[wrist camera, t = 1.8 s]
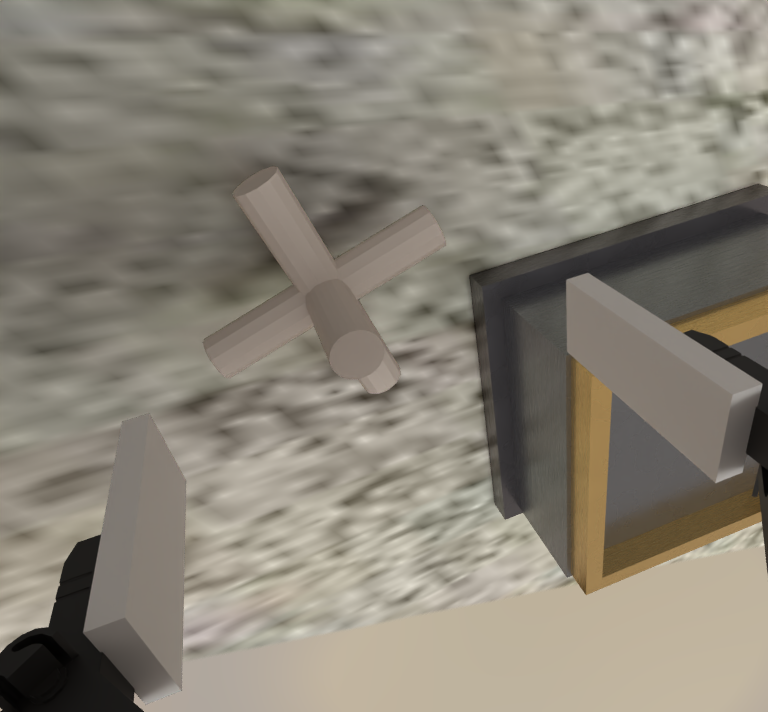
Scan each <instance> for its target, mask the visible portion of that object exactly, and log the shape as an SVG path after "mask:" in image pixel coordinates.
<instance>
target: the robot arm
mask: <svg viewBox="0 0 768 712" xmlns="http://www.w3.org/2000/svg"><path fill="white" fill-rule="evenodd" d="M566 309H567V352H568V353H569V354H570V355H571V356H572V357H574V358H575V359H576V360H577V361H578V362H579V363H580V364H581V365H583V366H584V367H585V368H586V369H587V370H588V371H589V372H591V373H592V374H593V375H594V376H595V377H596V378H597V379H598V380H600V381H601V382H602V383H603V384H604V385H605V386H606V387H607V388H609V389H610V390H611V391H612V392H613V393H614V394H615V395H617V396H618V397H619V398H620V399H621V400H622V401H623V402H624V403H626V404H627V405H628V406H629V407H630V408H631V409H632V410H634V411H635V412H636V413H637V414H638V415H639V416H640V417H641V418H643V419H644V420H645V421H646V422H647V423H648V424H649V425H650V426H652V427H653V428H654V429H655V430H656V431H657V432H658V433H660V434H661V435H662V436H663V437H664V438H665V439H666V440H667V441H669V442H670V443H671V444H672V445H673V446H674V447H675V448H676V449H678V450H679V451H680V452H681V453H682V454H683V455H684V456H686V457H687V458H688V459H689V460H690V461H691V462H692V463H693V464H695V465H696V466H697V467H698V468H699V469H700V470H701V471H703V472H704V473H705V474H706V475H707V476H708V477H709V478H710V479H712V480H713V481H714V482H715V483H717V482H720V481H722V480H725V479H727V478H730V477H733V476H735V475H738V474H740V473H743V468H744V464H745V460H746V455H749V456H750V457H751V458H753V459H754V460H755V461H756V462H758V463H759V468H758V472H757V476H756V480H755V484H754V488H753V493H752V496H753V497H757V496H758V492H759V498H760V507H761V516H762V526H763V535H764V544H765V554H766V563H767V572H768V369H766V368H765V367H763V366H761V365H760V364H758V363H756V362H755V361H753V360H751V359H750V358H748V357H746V356H745V355H744V356H742V355H741V353H740V352H738V351H737V350H735V349H733V348H732V347H731V348H729V347H728V345H727V344H725V343H723V342H722V341H720V340H718V339H717V338H715V337H713V336H711V335H708V334H705V333H701V332H698V331H695V330H689V331H686V332H684V333H682V332H680V331H679V330H677V329H676V328H674V327H672V326H671V325H669V324H668V323H666V322H665V321H663V320H661V319H660V318H658V317H657V316H655V315H654V314H652V313H650V312H649V311H647V310H646V309H644V308H643V307H641V306H639V305H638V304H636V303H635V302H633V301H632V300H630V299H628V298H627V297H625V296H624V295H622V294H621V293H619V292H617V291H616V290H614V289H613V288H611V287H610V286H608V285H606V284H605V283H603V282H602V281H600V280H598V279H597V278H595V277H594V276H592V275H591V274H589V273H586V274H582V275H579V276H576V277H573V278H570V279H567V280H566ZM185 515H186V479H185V478H184V476H183V474H182V472H181V470H180V468H179V467H178V465H177V463H176V461H175V459H174V457H173V456H172V454H171V452H170V450H169V448H168V446H167V444H166V443H165V441H164V439H163V437H162V435H161V433H160V432H159V430H158V428H157V426H156V424H155V422H154V421H153V419H152V417H151V415H150V413H148V414H145V415H141V416H138V417H135V418H132V419H129V420H126V421H123V422H122V425H121V431H120V436H119V442H118V447H117V452H116V458H115V463H114V468H113V474H112V479H111V485H110V490H109V495H108V501H107V506H106V512H105V517H104V522H103V528H102V533H101V535H98V536H95V537H92V538H89V539H87V540H84V541H81V542H78V543H77V544H76V546H75V547H74V549H73V550H72V552H71V553H70V555H69V556H68V558H67V559H66V561H65V563H64V566H63V570H62V574H61V578H60V582H59V583H60V586H59V587H58V591H57V595H56V602H55V603H54V607H53V611H52V615H51V619H50V623H49V627H46V628H38V629H34V630H32V631H30V632H27V633H25V634H23V635H21V636H20V637H18V638H17V639H16V640H14V641H13V642H12V643H10V644H9V645H8V646H7V647H6V648H5V649H4V650H3V651H2V652H1V653H0V708H1V709H2V711H1V712H144V711H143V710H142V709H140V708H139V707H138V706H137V705H136V704H135V703H134V702H133V701H134V692H135V693H136V694H137V695H138V697H139V698H140V699H141V700H142V701H143V702H144V703H145V704H149V703H151V702H154V701H157V700H159V699H162V698H164V697H167V696H169V695H172V694H175V693H177V692H180V691H182V656H183V609H184V562H185Z"/></svg>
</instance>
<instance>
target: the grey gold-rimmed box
mask: <svg viewBox="0 0 768 712" xmlns="http://www.w3.org/2000/svg"><path fill="white" fill-rule="evenodd" d="M586 273H589V274H591V275H592V276H594V277H595V278H597V279H598V280H600V281H602V282H603V283H605V284H606V285H608V286H610V287H611V288H613V289H614V290H616V291H617V292H619V293H621V294H622V295H624V296H625V297H627V298H628V299H630V300H632V301H633V302H635V303H636V304H638V305H639V306H641V307H643V308H644V309H646V310H647V311H649V312H650V313H652V314H654V315H655V316H657V317H658V318H660V319H661V320H663V321H665V322H666V323H668V324H669V325H671V326H672V327H674V328H676V329H677V330H679V331H680V332H682V333H684V332H686V331H689V330H695V331H698V332H701V333H705V334H708V335H711V336H713V337H715V338H717V339H718V340H720V341H722V342H723V343H725V344H727V345H728V347H729V348H731V347H732V348H733V349H735V350H737V351H738V352H740V353H741V355H742V356H744V355H745V356H746V357H748V358H750V359H751V360H753V361H755V362H756V363H758V364H760V365H761V366H763V367H765V368H766V369H768V187H767V186H764V185H760V184H757V185H754V186H751V187H748V188H745V189H741V190H738V191H735V192H732V193H729V194H726V195H723V196H719V197H716V198H713V199H710V200H707V201H704V202H701V203H697V204H694V205H691V206H688V207H685V208H682V209H678V210H675V211H672V212H669V213H666V214H663V215H660V216H656V217H653V218H650V219H647V220H644V221H641V222H637V223H634V224H631V225H628V226H625V227H622V228H619V229H615V230H612V231H609V232H606V233H603V234H600V235H596V236H593V237H590V238H587V239H584V240H581V241H578V242H574V243H571V244H568V245H565V246H562V247H559V248H556V249H552V250H549V251H546V252H543V253H540V254H537V255H533V256H530V257H527V258H524V259H521V260H518V261H515V262H511V263H508V264H505V265H502V266H499V267H496V268H492V269H489V270H486V271H483V272H480V273H477V274H474V275H470V284H471V293H472V302H473V311H474V320H475V329H476V337H477V346H478V355H479V364H480V373H481V382H482V391H483V400H484V409H485V418H486V427H487V436H488V445H489V454H490V463H491V472H492V481H493V490H494V499H495V505H496V506H497V508H498V509H499V511H500V512H501V514H502V516H503V517H504V519H508V518H510V517H513V516H516V515H518V514H521V513H524V515H525V516H526V518H527V519H528V521H529V522H530V524H531V525H532V527H533V528H534V530H535V531H536V532H537V534H538V535H539V537H540V538H541V540H542V541H543V543H544V544H545V546H546V547H547V549H548V550H549V552H550V553H551V555H552V556H553V557H554V559H555V560H556V562H557V563H558V565H559V566H560V568H561V569H562V571H563V572H564V574H565V575H566V577H570V576H573V577H574V578H575V580H576V581H577V583H578V584H579V586H580V587H581V589H582V590H583V591H584V593H585V594H586V595H587V594H590V593H592V592H594V591H597V590H599V589H601V588H604V587H606V586H609V585H611V584H613V583H616V582H618V581H621V580H623V579H625V578H628V577H630V576H632V575H635V574H637V573H640V572H642V571H644V570H647V569H649V568H652V567H654V566H656V565H659V564H661V563H663V562H666V561H668V560H671V559H673V558H675V557H678V556H680V555H683V554H685V553H687V552H690V551H692V550H694V549H697V548H699V547H702V546H704V545H706V544H709V543H711V542H713V541H716V540H718V539H721V538H723V537H725V536H728V535H730V534H732V533H735V532H737V531H740V530H742V529H744V528H747V527H749V526H752V525H754V524H756V523H759V522H761V521H762V516H761V507H760V498H759V492H758V496H757V497H753V496H752V493H753V488H754V484H755V480H756V476H757V472H758V468H759V463H758V462H756V461H755V460H754V459H753V458H751V457H750V456H749V455H746V460H745V464H744V468H743V473H740V474H738V475H735V476H733V477H730V478H727V479H725V480H722V481H720V482H717V483H715V482H714V481H713V480H712V479H710V478H709V477H708V476H707V475H706V474H705V473H704V472H703V471H701V470H700V469H699V468H698V467H697V466H696V465H695V464H693V463H692V462H691V461H690V460H689V459H688V458H687V457H686V456H684V455H683V454H682V453H681V452H680V451H679V450H678V449H676V448H675V447H674V446H673V445H672V444H671V443H670V442H669V441H667V440H666V439H665V438H664V437H663V436H662V435H661V434H660V433H658V432H657V431H656V430H655V429H654V428H653V427H652V426H650V425H649V424H648V423H647V422H646V421H645V420H644V419H643V418H641V417H640V416H639V415H638V414H637V413H636V412H635V411H634V410H632V409H631V408H630V407H629V406H628V405H627V404H626V403H624V402H623V401H622V400H621V399H620V398H619V397H618V396H617V395H615V394H614V393H613V392H612V391H611V390H610V389H609V388H607V387H606V386H605V385H604V384H603V383H602V382H601V381H600V380H598V379H597V378H596V377H595V376H594V375H593V374H592V373H591V372H589V371H588V370H587V369H586V368H585V367H584V366H583V365H581V364H580V363H579V362H578V361H577V360H576V359H575V358H574V357H572V356H571V355H570V354H569V353H568V352H567V309H566V280H567V279H570V278H573V277H576V276H579V275H582V274H586Z"/></svg>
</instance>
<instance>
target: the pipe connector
mask: <svg viewBox="0 0 768 712" xmlns="http://www.w3.org/2000/svg"><path fill="white" fill-rule="evenodd" d="M232 196H233V197H234V199H235V200H236V202H237V203H238V205H239V206H240V208H241V209H242V210H243V212H244V213H245V215H246V216H247V218H248V219H249V221H250V222H251V224H252V225H253V227H254V228H255V229H256V231H257V232H258V234H259V235H260V237H261V238H262V240H263V241H264V243H265V244H266V246H267V247H268V248H269V250H270V251H271V253H272V254H273V256H274V257H275V259H276V260H277V262H278V263H279V265H280V266H281V267H282V269H283V270H284V272H285V273H286V275H287V276H288V278H289V279H290V281H291V282H292V284H293V285H292V286H290V287H288V288H287V289H285V290H283V291H282V292H280V293H279V294H277V295H275V296H274V297H272V298H270V299H269V300H267V301H265V302H264V303H262V304H261V305H259V306H257V307H256V308H254V309H252V310H251V311H249V312H248V313H246V314H244V315H243V316H241V317H239V318H238V319H236V320H235V321H233V322H231V323H230V324H228V325H226V326H225V327H223V328H222V329H220V330H218V331H217V332H215V333H213V334H212V335H210V336H208V337H207V338H205V339H204V341H203V345H204V348H205V351H206V353H207V355H208V357H209V359H210V360H211V362H212V363H213V365H214V366H215V367H216V368H217V370H218V371H219V372H220V373H221V374H222V375H223V376H224V377H227V378H231V377H232V376H234V375H236V374H237V373H239V372H241V371H242V370H244V369H246V368H247V367H249V366H250V365H252V364H254V363H255V362H257V361H259V360H260V359H262V358H263V357H265V356H267V355H268V354H270V353H272V352H273V351H275V350H277V349H278V348H280V347H281V346H283V345H285V344H286V343H288V342H290V341H291V340H293V339H294V338H296V337H298V336H299V335H301V334H303V333H304V332H306V331H308V330H309V329H311V328H312V327H315V329H316V332H317V334H318V336H319V339H320V341H321V344H322V346H323V348H324V351H325V353H326V356H327V358H328V360H329V363H330V365H331V367H332V369H333V371H334V372H335V373H336V374H337V375H339V376H341V377H343V378H346V379H358V380H359V381H360V383H361V384H362V386H363V387H364V389H365V390H366V391H368V392H369V393H373V394H379V393H381V392H384V391H386V390H389V389H390V388H391V387H392V386H393V385H394V384H396V383H397V381H398V379H399V377H400V375H401V372H400V367H399V365H398V364H397V362H396V361H395V359H394V357H393V356H392V354H391V352H390V351H389V349H388V347H387V346H386V344H385V343H384V341H383V339H382V338H381V336H380V334H379V333H378V331H377V329H376V328H375V326H374V325H373V323H372V321H371V320H370V318H369V316H368V315H367V313H366V311H365V310H364V308H363V306H362V305H361V303H360V302H359V300H358V299H360V298H361V297H363V296H365V295H366V294H368V293H370V292H371V291H373V290H374V289H376V288H378V287H379V286H381V285H383V284H384V283H386V282H388V281H389V280H391V279H392V278H394V277H396V276H397V275H399V274H401V273H402V272H404V271H405V270H407V269H409V268H410V267H412V266H414V265H415V264H417V263H419V262H420V261H422V260H423V259H425V258H427V257H428V256H430V255H432V254H433V253H435V252H436V251H438V250H440V249H441V248H443V247H445V246H446V240H445V238H444V235H443V232H442V231H441V229H440V227H439V225H438V223H437V221H436V220H435V218H434V217H433V215H432V214H431V212H430V211H429V210H428V209H427V208H426V207H425V206H423V205H422V206H420V207H419V208H417V209H415V210H414V211H412V212H410V213H409V214H407V215H406V216H404V217H402V218H401V219H399V220H397V221H396V222H394V223H393V224H391V225H389V226H388V227H386V228H384V229H383V230H381V231H379V232H378V233H376V234H375V235H373V236H371V237H370V238H368V239H366V240H365V241H363V242H362V243H360V244H358V245H357V246H355V247H353V248H352V249H350V250H349V251H347V252H345V253H344V254H342V255H340V256H339V257H337V258H336V259H333V257H332V256H331V254H330V252H329V251H328V249H327V247H326V246H325V244H324V243H323V241H322V239H321V238H320V236H319V234H318V233H317V231H316V229H315V228H314V226H313V225H312V223H311V221H310V220H309V218H308V216H307V215H306V213H305V211H304V210H303V208H302V206H301V205H300V203H299V202H298V200H297V198H296V197H295V195H294V193H293V192H292V190H291V188H290V187H289V185H288V184H287V182H286V180H285V179H284V177H283V175H282V174H281V172H280V170H279V169H278V167H274V166H272V167H269V168H265V169H263V170H261V171H259V172H257V173H255V174H253V175H252V176H250V177H249V178H247V179H246V180H245V181H243V182H242V183H241V184H240V185H239V186H238V187H237V188H236V189H235V190H234V192H233V194H232Z"/></svg>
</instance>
